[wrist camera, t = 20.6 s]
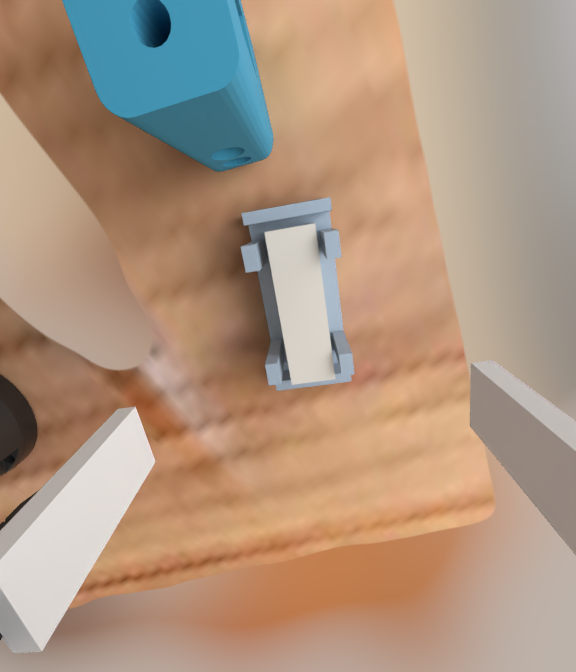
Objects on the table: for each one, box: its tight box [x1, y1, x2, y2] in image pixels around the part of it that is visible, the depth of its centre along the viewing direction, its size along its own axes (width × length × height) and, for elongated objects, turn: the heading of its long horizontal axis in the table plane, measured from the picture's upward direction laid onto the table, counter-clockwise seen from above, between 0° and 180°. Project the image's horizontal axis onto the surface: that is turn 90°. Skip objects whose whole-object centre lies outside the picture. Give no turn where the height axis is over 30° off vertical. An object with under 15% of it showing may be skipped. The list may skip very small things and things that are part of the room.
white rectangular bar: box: [264, 223, 335, 385], centre depth 30 cm, size 14×4×5 cm, turn 9°
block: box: [62, 0, 273, 172], centre depth 19 cm, size 12×5×20 cm, turn 14°
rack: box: [241, 197, 354, 391], centre depth 30 cm, size 17×8×7 cm, turn 9°
